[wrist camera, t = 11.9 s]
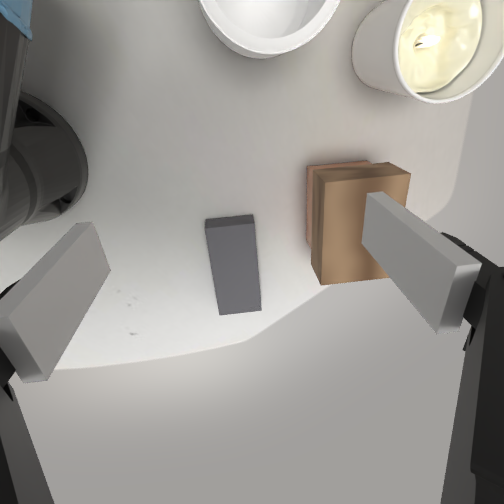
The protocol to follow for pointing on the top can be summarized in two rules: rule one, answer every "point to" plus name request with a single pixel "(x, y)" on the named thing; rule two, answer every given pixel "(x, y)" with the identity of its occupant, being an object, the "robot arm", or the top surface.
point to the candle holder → (429, 47)
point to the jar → (266, 23)
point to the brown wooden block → (349, 219)
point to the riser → (234, 263)
